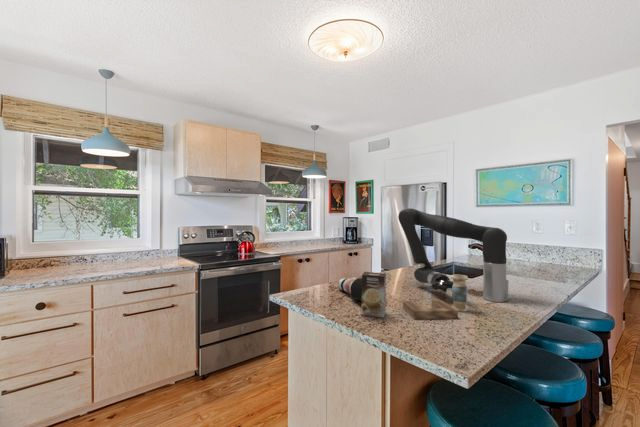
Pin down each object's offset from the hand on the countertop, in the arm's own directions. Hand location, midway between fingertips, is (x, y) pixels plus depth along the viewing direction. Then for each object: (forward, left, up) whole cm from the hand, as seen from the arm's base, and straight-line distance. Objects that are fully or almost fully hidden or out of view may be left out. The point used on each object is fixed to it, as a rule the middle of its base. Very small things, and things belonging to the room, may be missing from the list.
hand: (455, 289), depth 128 cm
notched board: (+14, +6, -8) cm, 17 cm away
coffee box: (+37, +6, -8) cm, 38 cm away
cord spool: (0, +3, -8) cm, 8 cm away
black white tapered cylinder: (+40, -20, -8) cm, 46 cm away
